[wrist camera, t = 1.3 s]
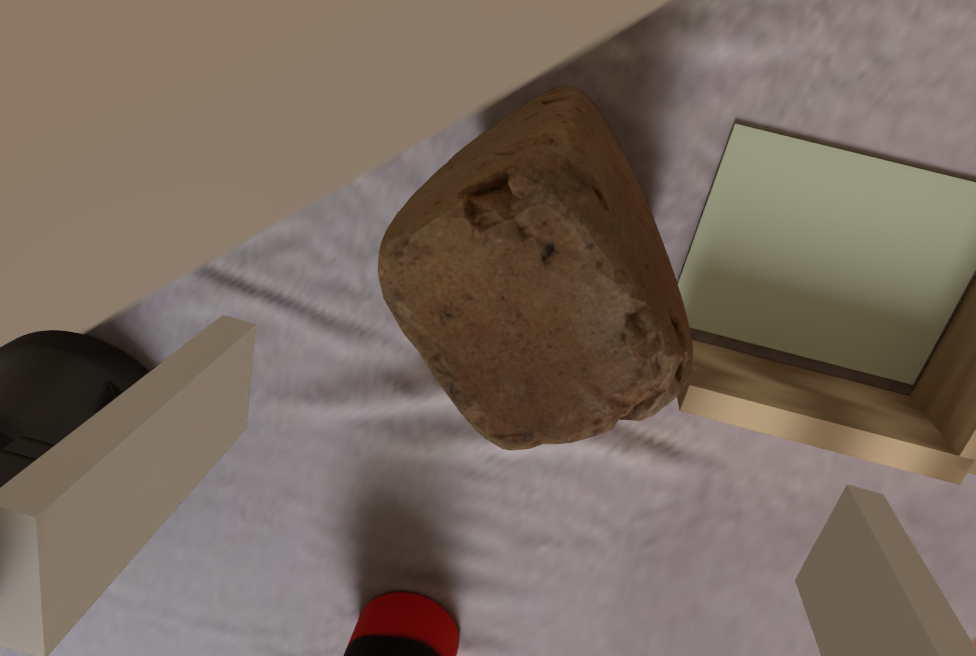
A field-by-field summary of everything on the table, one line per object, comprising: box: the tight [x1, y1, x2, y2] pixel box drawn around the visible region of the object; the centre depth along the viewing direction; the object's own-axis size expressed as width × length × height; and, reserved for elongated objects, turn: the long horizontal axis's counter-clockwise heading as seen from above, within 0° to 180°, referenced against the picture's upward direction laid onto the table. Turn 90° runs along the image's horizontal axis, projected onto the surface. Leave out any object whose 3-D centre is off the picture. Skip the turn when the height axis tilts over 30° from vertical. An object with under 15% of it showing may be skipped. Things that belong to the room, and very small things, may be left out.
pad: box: [677, 123, 976, 385], centre depth 37 cm, size 14×11×1 cm
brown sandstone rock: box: [378, 87, 693, 450], centre depth 29 cm, size 11×8×20 cm
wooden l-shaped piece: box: [677, 276, 976, 485], centre depth 34 cm, size 15×16×6 cm
